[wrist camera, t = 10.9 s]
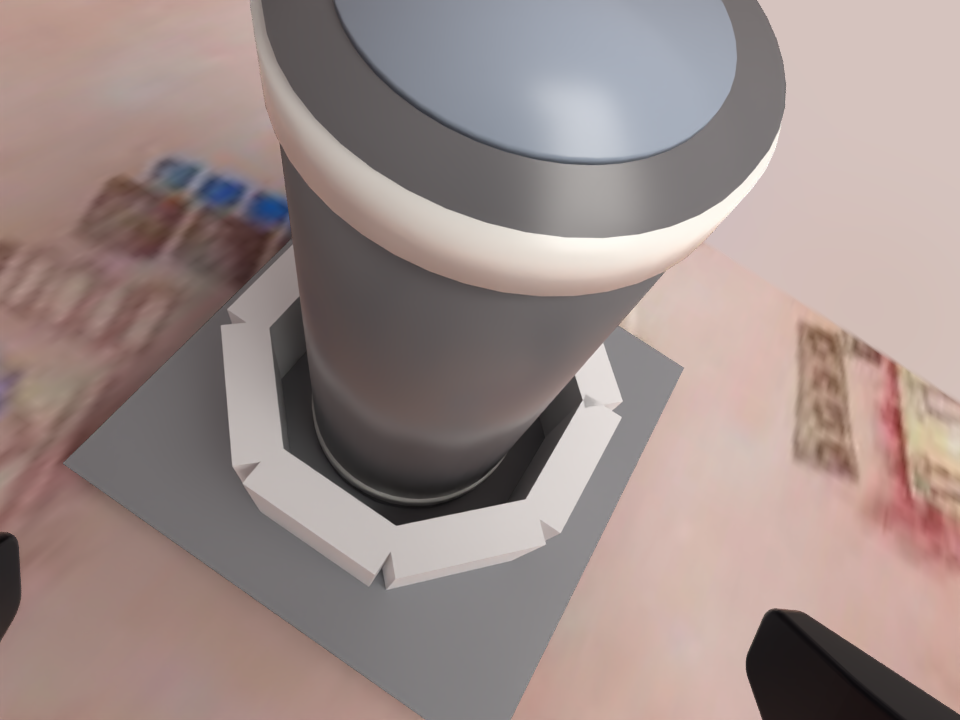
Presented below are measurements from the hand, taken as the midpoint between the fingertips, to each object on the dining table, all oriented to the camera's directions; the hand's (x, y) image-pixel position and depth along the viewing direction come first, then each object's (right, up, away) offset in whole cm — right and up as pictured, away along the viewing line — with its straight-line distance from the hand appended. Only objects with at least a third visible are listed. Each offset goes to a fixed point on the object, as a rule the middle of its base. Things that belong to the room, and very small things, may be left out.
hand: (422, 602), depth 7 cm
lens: (-1, +2, +9) cm, 9 cm away
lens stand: (-1, +1, +10) cm, 10 cm away
